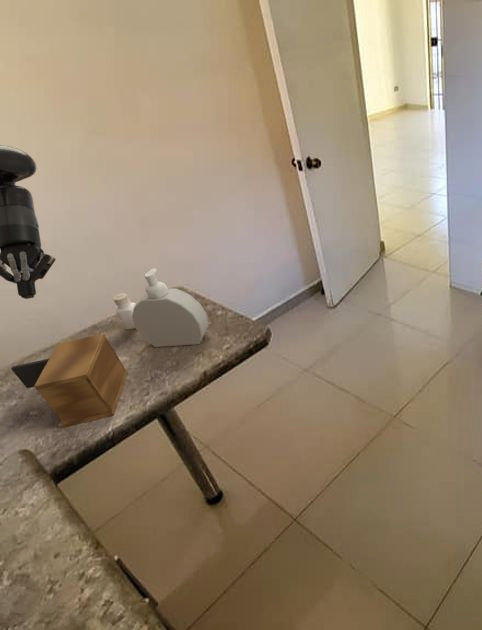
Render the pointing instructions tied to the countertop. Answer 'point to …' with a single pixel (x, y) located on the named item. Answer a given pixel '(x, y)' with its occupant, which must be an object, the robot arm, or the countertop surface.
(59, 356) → the wooden box
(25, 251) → the robot arm
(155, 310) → the soap bottle
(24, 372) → the dark grey block
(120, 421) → the countertop surface
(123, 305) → the white bottle
